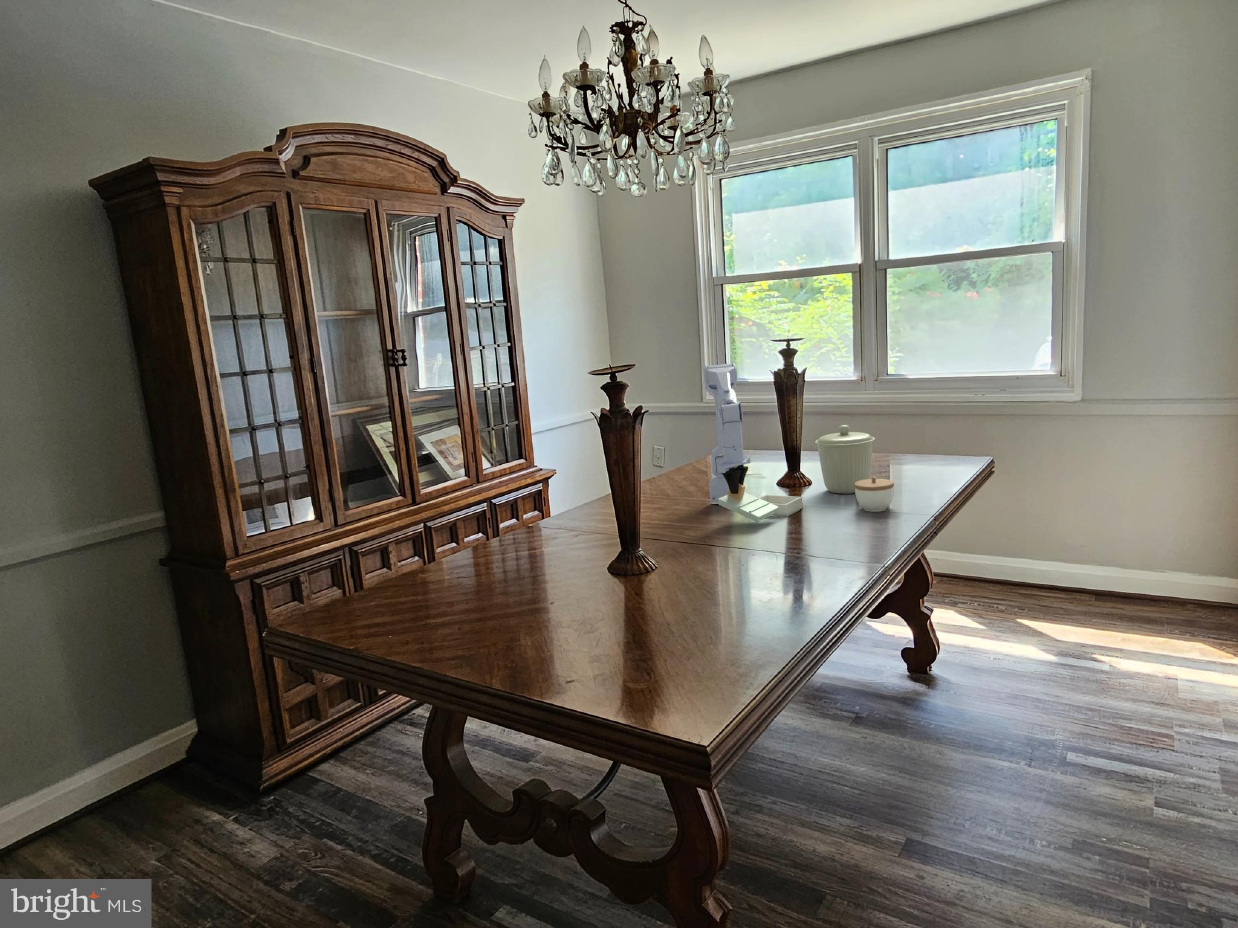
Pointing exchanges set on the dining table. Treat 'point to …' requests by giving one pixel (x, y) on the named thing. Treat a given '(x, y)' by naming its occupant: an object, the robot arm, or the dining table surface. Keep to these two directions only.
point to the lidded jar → (874, 494)
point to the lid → (748, 505)
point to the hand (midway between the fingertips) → (736, 492)
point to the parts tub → (784, 504)
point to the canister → (845, 459)
